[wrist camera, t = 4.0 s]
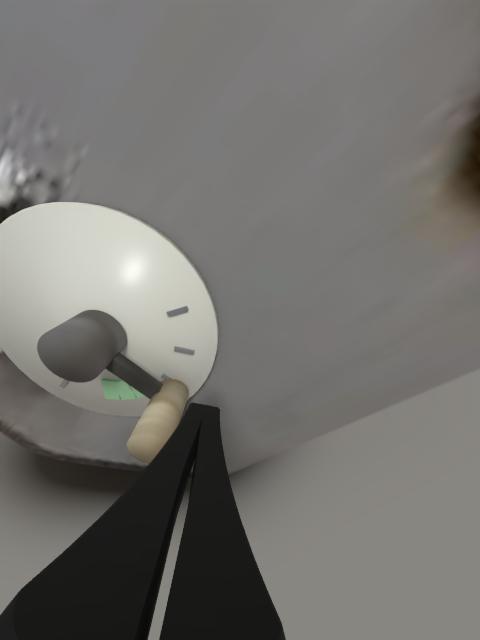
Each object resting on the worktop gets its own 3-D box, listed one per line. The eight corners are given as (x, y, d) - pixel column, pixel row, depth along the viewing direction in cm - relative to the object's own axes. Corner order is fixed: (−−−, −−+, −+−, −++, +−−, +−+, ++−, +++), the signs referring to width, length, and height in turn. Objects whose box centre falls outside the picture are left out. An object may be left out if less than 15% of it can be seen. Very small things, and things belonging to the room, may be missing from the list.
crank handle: (63, 333, 15) (-13, 380, 11) (89, 298, 14) (16, 336, 10) (172, 409, 18) (146, 472, 13) (201, 385, 17) (184, 446, 12)
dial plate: (18, 387, 19) (4, 397, 18) (-38, 172, 13) (-65, 167, 11) (201, 422, 20) (199, 434, 19) (240, 238, 13) (239, 240, 12)
